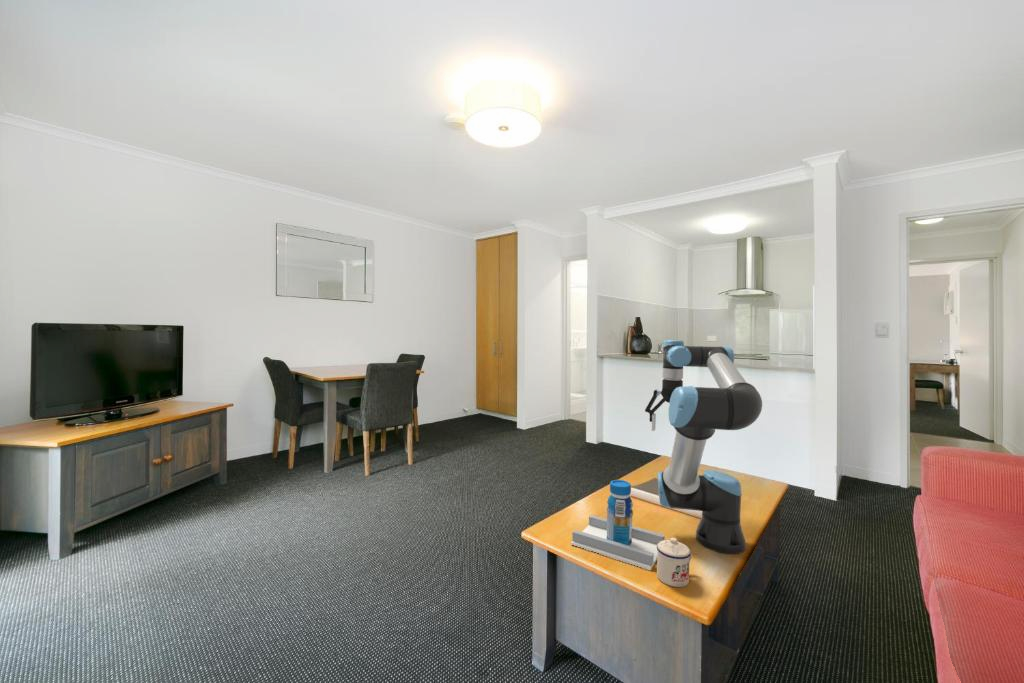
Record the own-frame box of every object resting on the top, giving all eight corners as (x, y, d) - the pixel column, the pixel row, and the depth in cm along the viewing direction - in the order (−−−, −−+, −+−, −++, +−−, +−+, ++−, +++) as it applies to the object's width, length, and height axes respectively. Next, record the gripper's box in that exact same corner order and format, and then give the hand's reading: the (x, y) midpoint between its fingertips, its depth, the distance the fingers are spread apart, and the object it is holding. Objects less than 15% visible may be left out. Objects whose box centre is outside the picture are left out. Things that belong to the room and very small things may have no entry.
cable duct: (665, 545, 140) (665, 533, 139) (650, 570, 124) (651, 557, 124) (592, 524, 154) (592, 513, 154) (571, 545, 139) (571, 533, 139)
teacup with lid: (674, 591, 115) (675, 550, 114) (649, 574, 123) (650, 535, 122) (703, 579, 120) (704, 540, 120) (677, 564, 128) (678, 526, 128)
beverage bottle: (600, 540, 140) (602, 481, 139) (616, 533, 145) (618, 476, 144) (621, 551, 133) (622, 489, 133) (637, 544, 138) (639, 484, 138)
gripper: (708, 380, 161) (707, 435, 161) (643, 376, 174) (642, 426, 175) (705, 382, 154) (703, 439, 155) (638, 377, 168) (636, 429, 169)
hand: (671, 432), depth 165 cm, fingers open, 13 cm apart
